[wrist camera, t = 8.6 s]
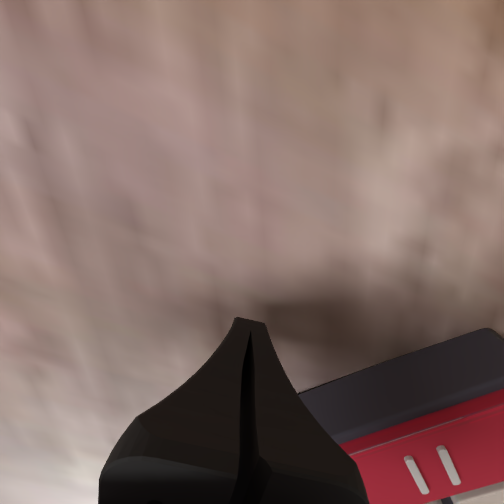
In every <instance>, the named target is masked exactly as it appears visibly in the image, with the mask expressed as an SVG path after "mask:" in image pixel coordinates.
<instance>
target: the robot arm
mask: <svg viewBox="0 0 504 504" xmlns="http://www.w3.org/2000/svg"><path fill="white" fill-rule="evenodd" d="M98 504H370V503H369V499H368V496H367V492H366V488H365V485H364V482H363V479H362V477H361V474H360V471H359V469H358V466H357V463H356V462H355V461H354V460H353V459H352V458H351V457H350V456H349V455H348V454H347V453H346V452H345V451H344V450H343V449H342V448H341V447H340V446H339V445H338V444H337V443H336V442H335V441H334V440H333V439H332V438H331V437H330V435H329V434H328V433H327V432H326V431H325V430H324V429H323V428H322V426H321V425H320V424H319V423H318V422H317V420H316V419H315V418H314V416H313V415H312V414H311V412H310V411H309V410H308V409H307V407H306V406H305V405H304V403H303V402H302V400H301V399H300V397H299V396H298V394H297V393H296V391H295V389H294V388H293V386H292V384H291V383H290V381H289V379H288V377H287V375H286V373H285V371H284V370H283V368H282V365H281V363H280V361H279V359H278V357H277V354H276V352H275V350H274V347H273V345H272V342H271V339H270V337H269V334H268V330H267V327H266V325H265V323H262V322H257V321H253V320H249V319H244V318H240V317H236V318H234V322H233V324H232V327H231V329H230V330H229V332H228V334H227V336H226V337H225V338H224V340H223V341H222V343H221V344H220V346H219V347H218V348H217V350H216V351H215V352H214V353H213V355H212V356H211V357H210V358H209V359H208V360H207V362H206V363H205V364H204V365H203V366H202V367H201V368H200V369H199V370H198V371H197V372H196V373H195V374H194V375H193V376H192V377H191V378H189V379H188V380H187V381H186V382H185V383H184V384H183V385H182V386H180V387H179V388H178V389H176V390H175V391H174V392H173V393H171V394H170V395H169V396H167V397H166V398H165V399H163V400H162V401H160V402H159V403H158V404H156V405H154V406H153V407H151V408H150V409H148V410H146V411H145V412H143V413H142V414H140V415H138V416H137V417H136V418H135V419H134V420H133V422H132V423H131V424H130V425H129V427H128V428H127V429H126V431H125V432H124V433H123V435H122V436H121V437H120V439H119V440H118V442H117V443H116V445H115V447H114V448H113V450H112V452H111V453H110V455H109V457H108V459H107V461H106V463H105V465H104V467H103V469H102V471H101V475H100V478H99V497H98Z"/></svg>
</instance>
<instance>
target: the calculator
mask: <svg viewBox="0 0 504 504" xmlns="http://www.w3.org/2000/svg"><path fill="white" fill-rule="evenodd" d="M298 396H299V397H300V399H301V400H302V402H303V403H304V405H305V406H306V407H307V409H308V410H309V411H310V412H311V414H312V415H313V416H314V418H315V419H316V420H317V422H318V423H319V424H320V425H321V426H322V428H323V429H324V430H325V431H326V432H327V433H328V434H329V435H330V437H331V438H332V439H333V440H334V441H335V442H336V443H337V444H338V445H339V446H340V447H341V448H342V449H343V450H344V451H345V452H346V453H347V454H348V455H349V456H350V457H351V458H352V459H353V460H354V461H355V462H356V463H357V466H358V469H359V471H360V474H361V477H362V479H363V482H364V485H365V488H366V492H367V496H368V499H369V503H370V504H504V338H502V337H501V336H500V335H498V334H497V333H496V332H495V331H493V330H492V329H490V328H483V329H480V330H477V331H474V332H471V333H468V334H465V335H462V336H459V337H456V338H453V339H450V340H447V341H444V342H441V343H438V344H435V345H432V346H430V347H427V348H424V349H421V350H418V351H415V352H412V353H409V354H406V355H403V356H400V357H397V358H394V359H392V360H389V361H386V362H383V363H380V364H377V365H375V366H372V367H369V368H366V369H364V370H361V371H358V372H356V373H353V374H351V375H348V376H345V377H343V378H340V379H338V380H335V381H332V382H330V383H327V384H325V385H322V386H319V387H317V388H314V389H312V390H309V391H307V392H304V393H301V394H299V395H298Z"/></svg>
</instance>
